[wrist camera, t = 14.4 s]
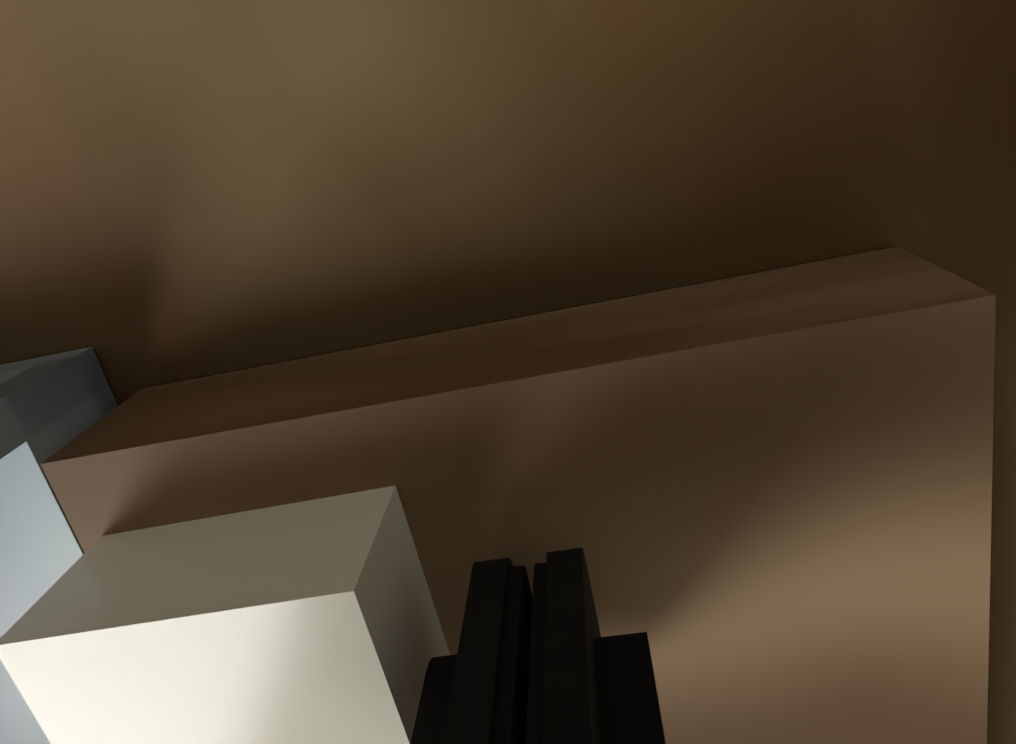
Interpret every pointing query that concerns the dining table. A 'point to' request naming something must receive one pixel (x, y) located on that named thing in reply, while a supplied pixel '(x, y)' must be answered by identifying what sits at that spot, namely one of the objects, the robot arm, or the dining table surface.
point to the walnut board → (652, 481)
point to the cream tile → (236, 631)
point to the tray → (38, 494)
